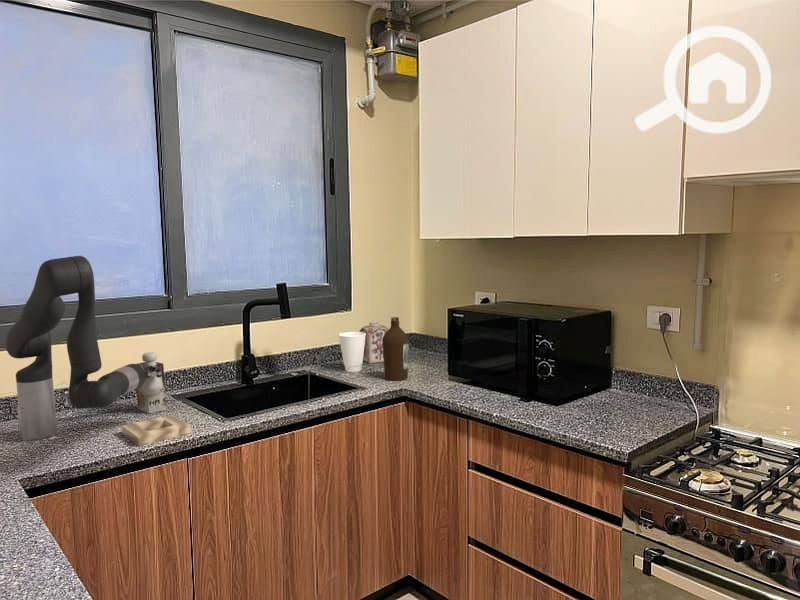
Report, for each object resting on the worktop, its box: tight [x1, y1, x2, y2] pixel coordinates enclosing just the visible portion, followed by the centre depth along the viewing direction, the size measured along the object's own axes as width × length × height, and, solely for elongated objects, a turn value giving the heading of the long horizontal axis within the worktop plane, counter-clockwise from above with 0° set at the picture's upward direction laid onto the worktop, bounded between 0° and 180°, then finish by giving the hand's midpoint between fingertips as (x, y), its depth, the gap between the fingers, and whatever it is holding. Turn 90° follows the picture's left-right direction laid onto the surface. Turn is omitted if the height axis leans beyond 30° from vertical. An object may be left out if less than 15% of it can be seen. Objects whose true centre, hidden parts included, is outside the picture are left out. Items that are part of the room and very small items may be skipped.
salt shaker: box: [141, 352, 162, 395], centre depth 181 cm, size 6×6×13 cm
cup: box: [338, 331, 366, 373], centre depth 250 cm, size 12×12×16 cm
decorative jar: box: [358, 321, 390, 364], centre depth 270 cm, size 12×12×18 cm
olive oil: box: [382, 316, 410, 382], centre depth 233 cm, size 11×11×25 cm
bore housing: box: [121, 414, 192, 447], centre depth 172 cm, size 15×15×2 cm
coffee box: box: [136, 361, 167, 414], centre depth 197 cm, size 9×6×16 cm
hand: (154, 366), depth 183 cm, fingers closed on salt shaker, 3 cm apart
